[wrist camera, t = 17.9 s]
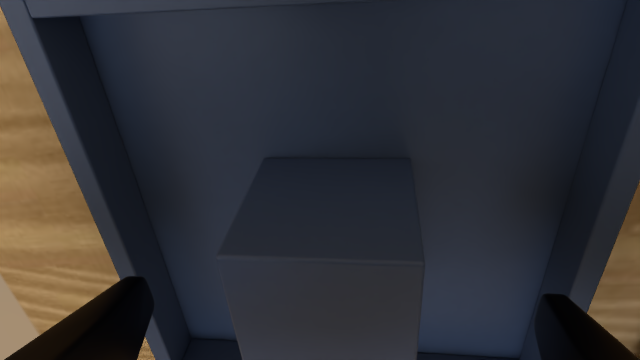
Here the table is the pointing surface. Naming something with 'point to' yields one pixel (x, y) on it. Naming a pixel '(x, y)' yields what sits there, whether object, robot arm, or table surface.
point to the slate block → (326, 261)
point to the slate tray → (351, 141)
